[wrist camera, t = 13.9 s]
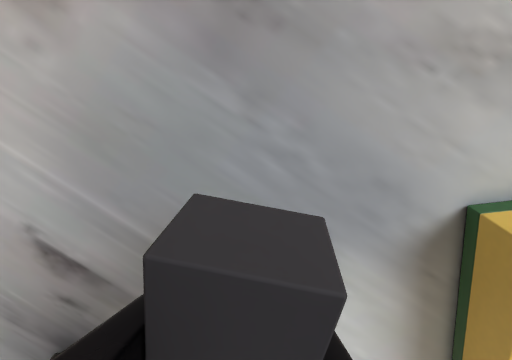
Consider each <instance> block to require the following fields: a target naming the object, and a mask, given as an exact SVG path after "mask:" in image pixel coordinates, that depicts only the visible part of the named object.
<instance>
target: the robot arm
mask: <svg viewBox="0 0 512 360" xmlns="http://www.w3.org/2000/svg"><path fill="white" fill-rule="evenodd" d="M50 360H145V323H144V294H143V295H141V296H140V297H138V298H137V299H136V300H134V301H133V302H132V303H130V304H129V305H127V306H126V307H125V308H123V309H122V310H120V311H119V312H118V313H116V314H115V315H113V316H112V317H111V318H109V319H108V320H107V321H105V322H104V323H102V324H101V325H100V326H98V327H97V328H95V329H94V330H93V331H91V332H90V333H88V334H87V335H86V336H84V337H83V338H82V339H80V340H79V341H77V342H76V343H75V344H73V345H72V346H70V347H69V348H68V349H66V350H65V351H63V352H62V353H56V354H54V355H53V357H52V358H51V359H50ZM323 360H352V358H351V357H350V355H349V353H348V352H347V350H346V349H345V347H344V345H343V344H342V342H341V340H340V339H339V337H338V336H337V334H336V332H335V331H334V333H333V335H332V338H331V340H330V343H329V346H328V348H327V351H326V353H325V356H324V359H323Z"/></svg>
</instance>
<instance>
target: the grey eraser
mask: <svg viewBox="0 0 512 360" xmlns="http://www.w3.org/2000/svg"><path fill="white" fill-rule="evenodd" d="M143 278H144V323H145V360H323V359H324V356H325V353H326V351H327V348H328V346H329V343H330V340H331V338H332V335H333V333H334V330H335V328H336V325H337V322H338V320H339V317H340V315H341V312H342V309H343V307H344V304H345V302H346V299H347V293H346V290H345V286H344V283H343V280H342V276H341V273H340V269H339V266H338V263H337V259H336V256H335V253H334V249H333V246H332V243H331V239H330V236H329V233H328V229H327V226H326V223H325V219H324V218H323V217H319V216H313V215H308V214H302V213H297V212H292V211H286V210H281V209H276V208H270V207H265V206H260V205H254V204H249V203H243V202H238V201H233V200H227V199H222V198H217V197H211V196H206V195H201V194H193V196H192V197H191V198H190V199H189V200H188V202H187V203H186V204H185V205H184V206H183V208H182V209H181V210H180V211H179V213H178V214H177V215H176V216H175V217H174V219H173V220H172V221H171V222H170V224H169V225H168V226H167V227H166V228H165V230H164V231H163V232H162V233H161V234H160V236H159V237H158V238H157V239H156V241H155V242H154V243H153V244H152V245H151V247H150V248H149V249H148V250H147V251H146V253H145V254H144V256H143Z"/></svg>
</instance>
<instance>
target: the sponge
mask: <svg viewBox="0 0 512 360" xmlns="http://www.w3.org/2000/svg"><path fill="white" fill-rule="evenodd" d="M452 360H512V201H503V202H495V203H486V204H477V205H469V206H468V207H467V217H466V227H465V236H464V246H463V256H462V266H461V276H460V285H459V295H458V305H457V315H456V325H455V335H454V344H453V354H452Z"/></svg>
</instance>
